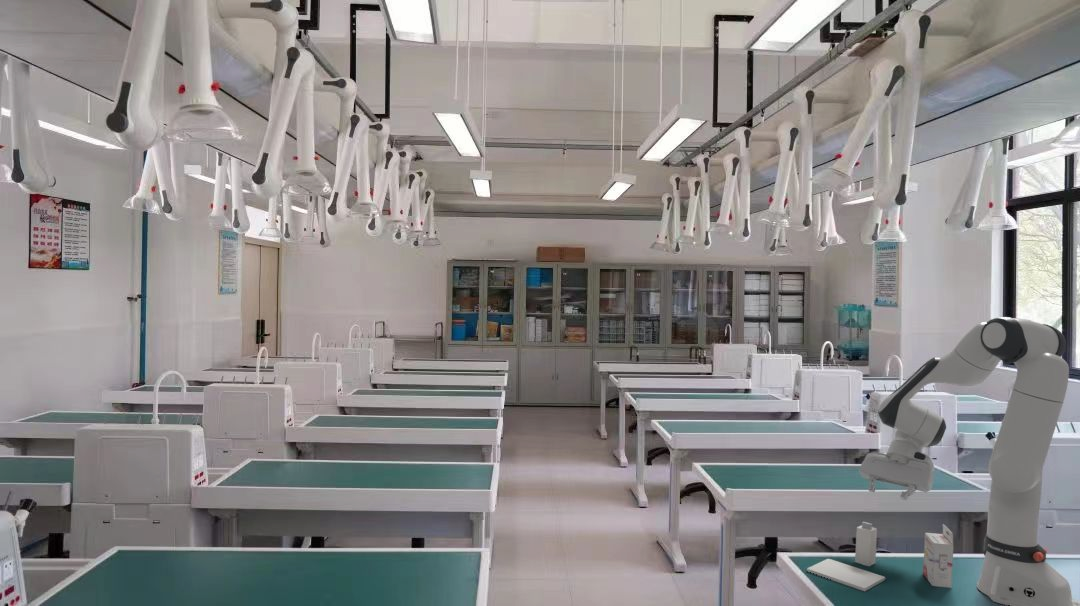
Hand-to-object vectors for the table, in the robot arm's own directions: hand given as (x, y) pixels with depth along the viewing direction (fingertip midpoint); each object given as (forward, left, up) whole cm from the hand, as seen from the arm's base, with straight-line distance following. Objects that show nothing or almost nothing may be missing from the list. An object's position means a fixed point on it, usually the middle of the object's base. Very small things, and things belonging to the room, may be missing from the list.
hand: (887, 494), depth 216 cm
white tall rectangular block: (0, +12, -17) cm, 21 cm away
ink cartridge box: (-18, +9, -18) cm, 27 cm away
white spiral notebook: (-1, +26, -17) cm, 32 cm away
